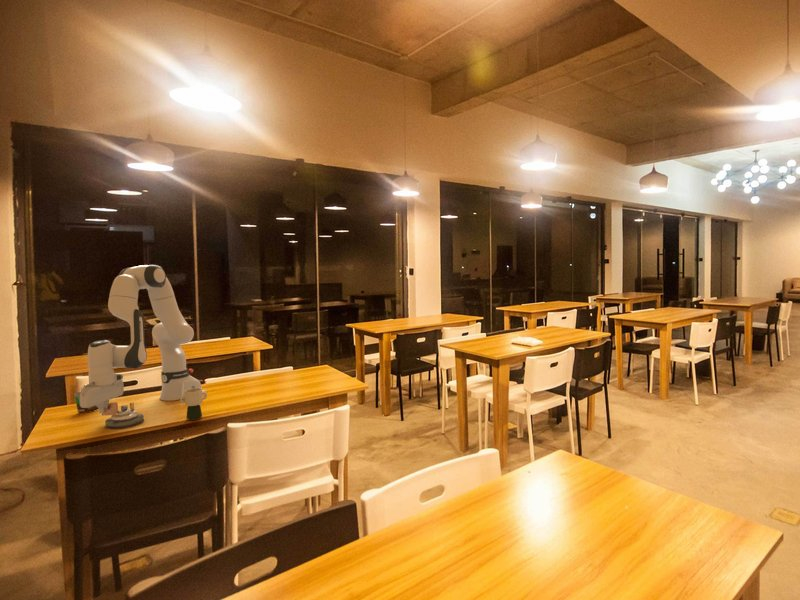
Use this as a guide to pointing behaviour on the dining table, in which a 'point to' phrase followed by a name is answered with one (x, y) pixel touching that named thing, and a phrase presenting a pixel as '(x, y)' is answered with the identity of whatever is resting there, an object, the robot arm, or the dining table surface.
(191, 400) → the character mug
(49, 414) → the dining table surface
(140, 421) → the handwheel with crank handle
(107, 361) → the robot arm
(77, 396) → the food container
